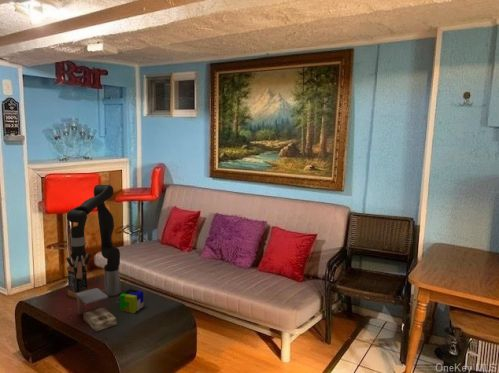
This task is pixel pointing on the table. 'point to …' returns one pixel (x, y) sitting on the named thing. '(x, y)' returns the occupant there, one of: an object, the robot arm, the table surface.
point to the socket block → (100, 319)
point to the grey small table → (90, 298)
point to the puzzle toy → (131, 301)
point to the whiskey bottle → (76, 282)
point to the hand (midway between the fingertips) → (79, 272)
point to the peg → (79, 270)
